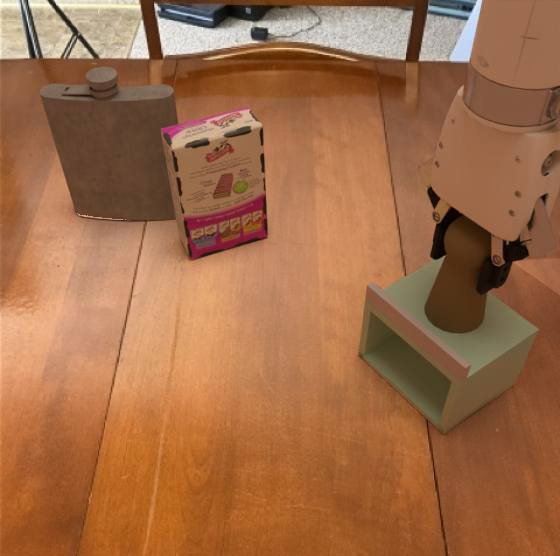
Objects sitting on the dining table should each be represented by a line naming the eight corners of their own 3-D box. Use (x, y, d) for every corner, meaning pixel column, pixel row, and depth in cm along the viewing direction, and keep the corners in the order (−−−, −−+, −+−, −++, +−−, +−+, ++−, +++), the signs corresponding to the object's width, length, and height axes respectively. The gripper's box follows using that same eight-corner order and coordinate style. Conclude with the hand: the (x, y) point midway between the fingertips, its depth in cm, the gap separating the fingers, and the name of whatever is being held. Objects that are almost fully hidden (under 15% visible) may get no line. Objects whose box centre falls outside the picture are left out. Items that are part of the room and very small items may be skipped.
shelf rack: (427, 312, 81) (444, 241, 73) (515, 384, 74) (545, 315, 66) (357, 355, 77) (366, 284, 69) (443, 435, 70) (465, 368, 62)
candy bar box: (254, 216, 93) (249, 104, 80) (269, 237, 90) (266, 125, 77) (176, 238, 90) (158, 126, 77) (189, 261, 87) (172, 148, 74)
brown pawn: (491, 331, 67) (521, 245, 59) (431, 335, 67) (452, 250, 58) (475, 288, 71) (501, 202, 62) (418, 292, 71) (436, 206, 62)
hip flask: (191, 204, 95) (172, 63, 79) (188, 223, 92) (168, 81, 76) (78, 202, 95) (37, 62, 79) (71, 221, 92) (28, 80, 77)
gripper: (646, 121, 47) (564, 304, 62) (466, 31, 56) (430, 209, 70) (577, 159, 45) (507, 341, 59) (399, 58, 53) (376, 238, 67)
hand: (466, 268), depth 64 cm, fingers closed on brown pawn, 5 cm apart
